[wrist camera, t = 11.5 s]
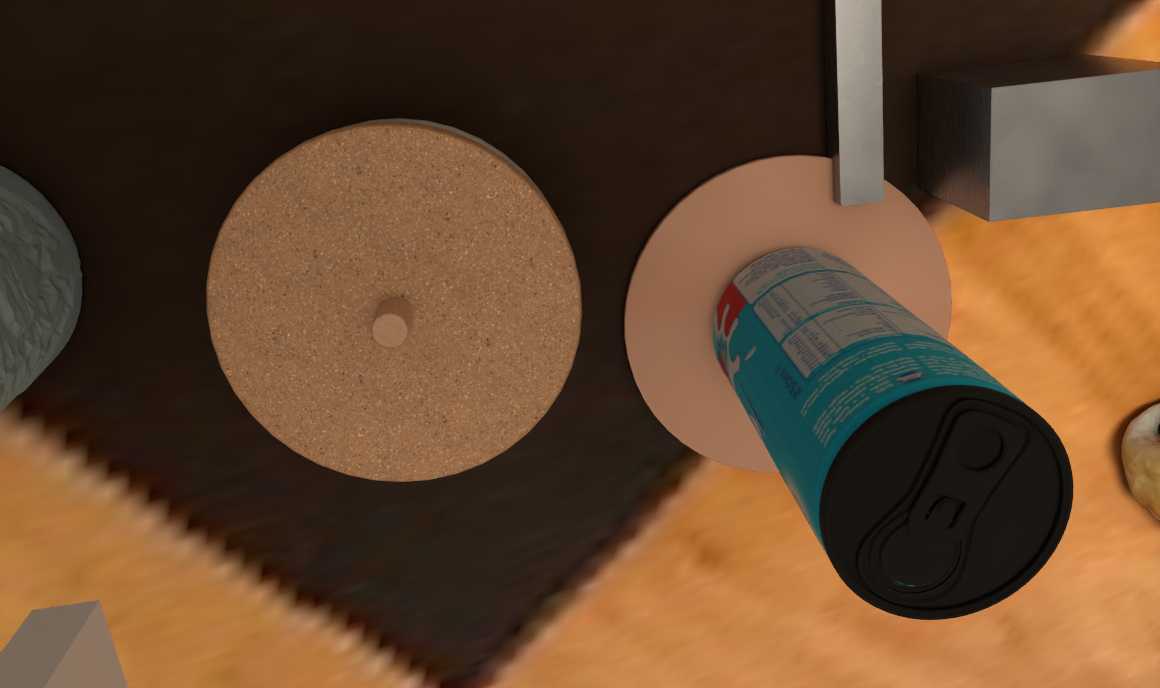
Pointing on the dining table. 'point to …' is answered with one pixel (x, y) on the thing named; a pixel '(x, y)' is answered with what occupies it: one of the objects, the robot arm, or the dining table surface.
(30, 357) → the green plant pot
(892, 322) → the beverage can
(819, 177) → the coaster
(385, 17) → the dining table surface
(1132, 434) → the pastry
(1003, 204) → the dumbbell
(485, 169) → the lidded jar
